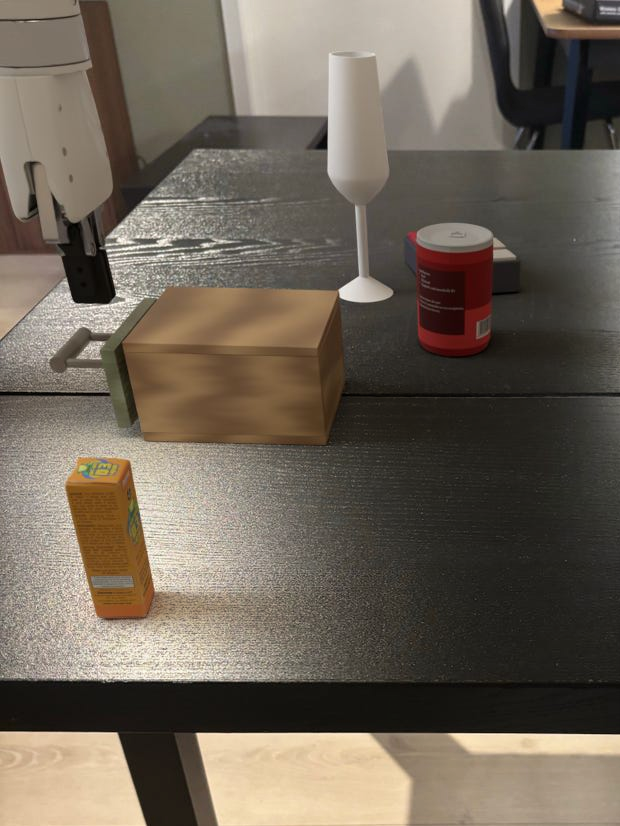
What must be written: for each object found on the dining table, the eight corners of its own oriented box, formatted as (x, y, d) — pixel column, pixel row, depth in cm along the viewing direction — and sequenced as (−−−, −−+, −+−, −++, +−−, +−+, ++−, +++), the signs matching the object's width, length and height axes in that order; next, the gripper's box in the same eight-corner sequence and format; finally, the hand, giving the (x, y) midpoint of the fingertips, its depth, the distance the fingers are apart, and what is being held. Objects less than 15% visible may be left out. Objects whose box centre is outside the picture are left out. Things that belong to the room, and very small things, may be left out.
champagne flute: (325, 296, 109) (305, 55, 94) (355, 280, 114) (341, 47, 99) (375, 306, 107) (363, 60, 92) (403, 289, 112) (397, 53, 97)
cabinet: (143, 440, 80) (121, 342, 75) (184, 376, 91) (167, 286, 85) (326, 445, 80) (317, 347, 75) (345, 380, 91) (339, 290, 85)
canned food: (483, 327, 102) (486, 221, 95) (497, 356, 96) (501, 244, 89) (413, 330, 101) (411, 223, 94) (422, 359, 95) (421, 246, 88)
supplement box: (151, 618, 61) (117, 482, 54) (96, 620, 60) (56, 483, 54) (160, 589, 63) (129, 455, 57) (108, 590, 63) (71, 456, 57)
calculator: (486, 225, 120) (522, 253, 109) (486, 260, 123) (520, 291, 111) (402, 229, 118) (429, 259, 106) (404, 265, 120) (430, 298, 109)
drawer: (50, 425, 80) (28, 348, 76) (98, 367, 89) (81, 295, 85) (287, 431, 80) (278, 354, 76) (309, 373, 90) (302, 301, 85)
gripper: (21, 32, 74) (81, 271, 85) (-67, 59, 62) (16, 332, 73) (117, 34, 74) (163, 273, 85) (46, 61, 62) (111, 334, 73)
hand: (95, 300), depth 79 cm, fingers closed
